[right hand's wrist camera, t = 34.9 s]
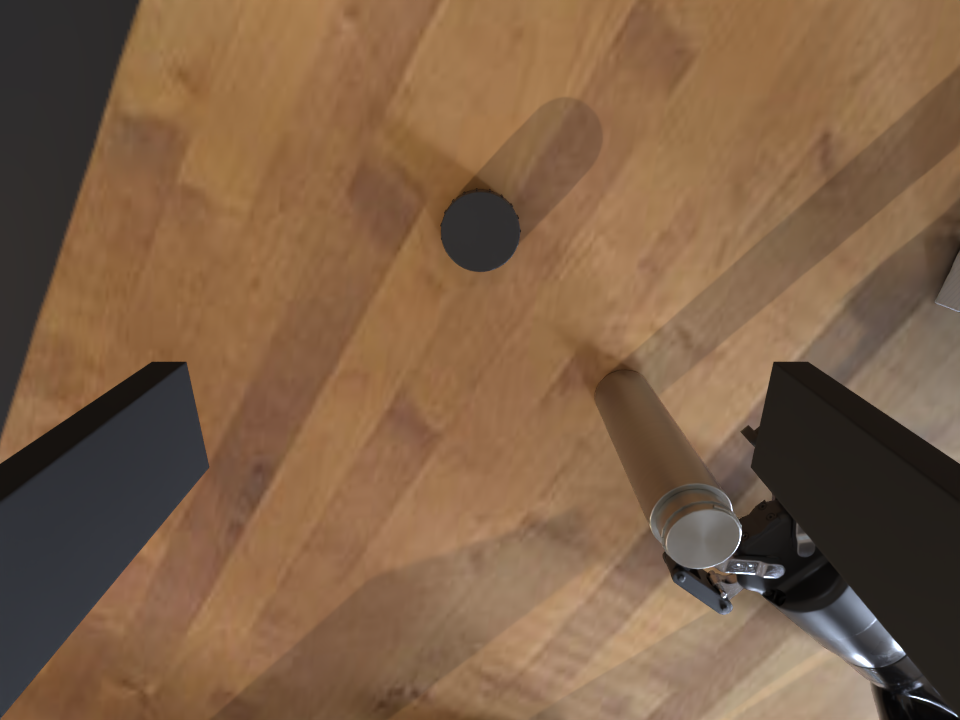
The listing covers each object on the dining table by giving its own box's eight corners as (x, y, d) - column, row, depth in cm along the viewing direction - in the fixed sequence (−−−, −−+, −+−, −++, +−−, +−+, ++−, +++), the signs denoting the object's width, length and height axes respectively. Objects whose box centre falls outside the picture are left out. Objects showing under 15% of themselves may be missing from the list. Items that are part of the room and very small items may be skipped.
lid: (468, 172, 36) (467, 173, 35) (534, 216, 38) (537, 220, 36) (427, 240, 38) (424, 245, 36) (492, 280, 39) (492, 287, 37)
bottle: (637, 425, 44) (724, 581, 28) (586, 411, 43) (646, 563, 28) (658, 377, 42) (763, 515, 27) (606, 363, 42) (681, 495, 26)
